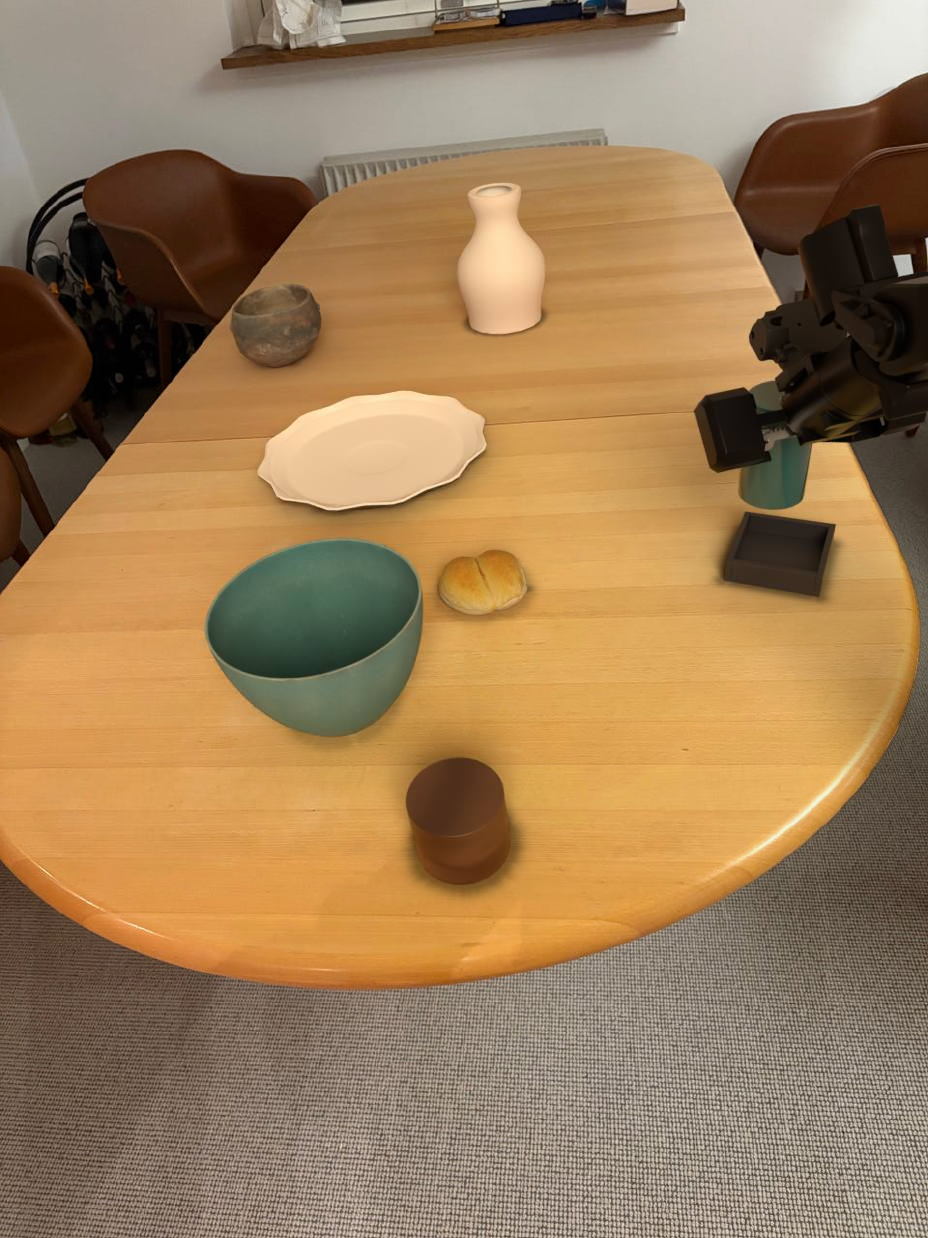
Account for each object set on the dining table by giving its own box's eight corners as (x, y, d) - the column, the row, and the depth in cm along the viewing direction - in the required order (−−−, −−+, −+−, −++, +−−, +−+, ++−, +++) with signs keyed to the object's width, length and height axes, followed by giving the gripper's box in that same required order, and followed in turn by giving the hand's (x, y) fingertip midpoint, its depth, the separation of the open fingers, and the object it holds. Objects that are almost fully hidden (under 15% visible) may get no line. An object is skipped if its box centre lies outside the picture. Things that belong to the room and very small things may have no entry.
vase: (449, 334, 143) (431, 204, 130) (481, 300, 153) (468, 176, 140) (531, 339, 138) (522, 204, 125) (559, 303, 148) (553, 174, 135)
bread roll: (435, 578, 94) (430, 547, 91) (517, 562, 94) (514, 531, 92) (446, 626, 88) (441, 595, 85) (534, 609, 88) (531, 577, 86)
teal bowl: (459, 752, 75) (439, 646, 67) (247, 804, 73) (201, 701, 65) (422, 621, 89) (402, 520, 81) (243, 662, 87) (205, 563, 79)
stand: (524, 821, 69) (518, 771, 65) (487, 897, 64) (479, 849, 60) (442, 796, 72) (432, 747, 68) (401, 868, 67) (388, 819, 63)
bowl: (332, 335, 149) (319, 275, 142) (324, 374, 137) (309, 311, 131) (251, 345, 150) (234, 286, 143) (236, 385, 138) (217, 323, 131)
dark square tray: (832, 543, 91) (836, 523, 89) (819, 597, 85) (823, 576, 83) (742, 530, 94) (744, 511, 92) (724, 580, 88) (725, 560, 86)
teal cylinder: (812, 506, 81) (829, 407, 75) (746, 512, 81) (756, 414, 75) (794, 473, 86) (808, 376, 79) (731, 479, 86) (740, 383, 80)
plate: (532, 464, 109) (530, 447, 108) (318, 554, 100) (313, 537, 98) (419, 386, 130) (417, 371, 128) (233, 456, 120) (228, 440, 119)
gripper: (939, 255, 68) (839, 341, 83) (710, 302, 66) (651, 381, 81) (981, 392, 67) (872, 453, 82) (750, 443, 65) (683, 496, 80)
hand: (769, 443), depth 82 cm, fingers closed on teal cylinder, 6 cm apart
